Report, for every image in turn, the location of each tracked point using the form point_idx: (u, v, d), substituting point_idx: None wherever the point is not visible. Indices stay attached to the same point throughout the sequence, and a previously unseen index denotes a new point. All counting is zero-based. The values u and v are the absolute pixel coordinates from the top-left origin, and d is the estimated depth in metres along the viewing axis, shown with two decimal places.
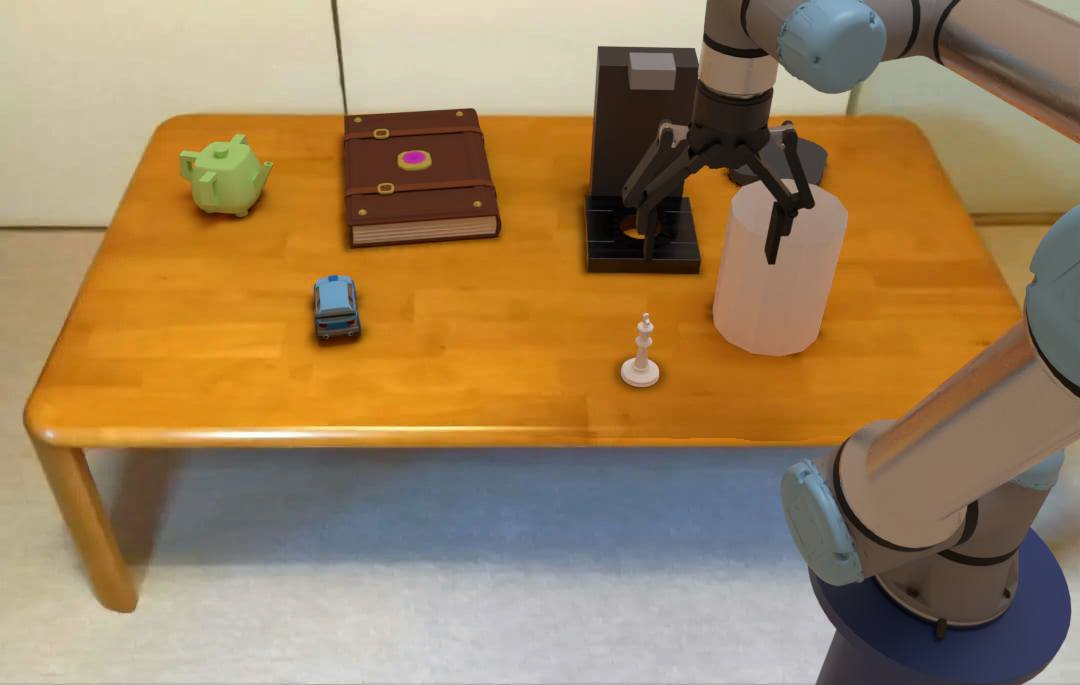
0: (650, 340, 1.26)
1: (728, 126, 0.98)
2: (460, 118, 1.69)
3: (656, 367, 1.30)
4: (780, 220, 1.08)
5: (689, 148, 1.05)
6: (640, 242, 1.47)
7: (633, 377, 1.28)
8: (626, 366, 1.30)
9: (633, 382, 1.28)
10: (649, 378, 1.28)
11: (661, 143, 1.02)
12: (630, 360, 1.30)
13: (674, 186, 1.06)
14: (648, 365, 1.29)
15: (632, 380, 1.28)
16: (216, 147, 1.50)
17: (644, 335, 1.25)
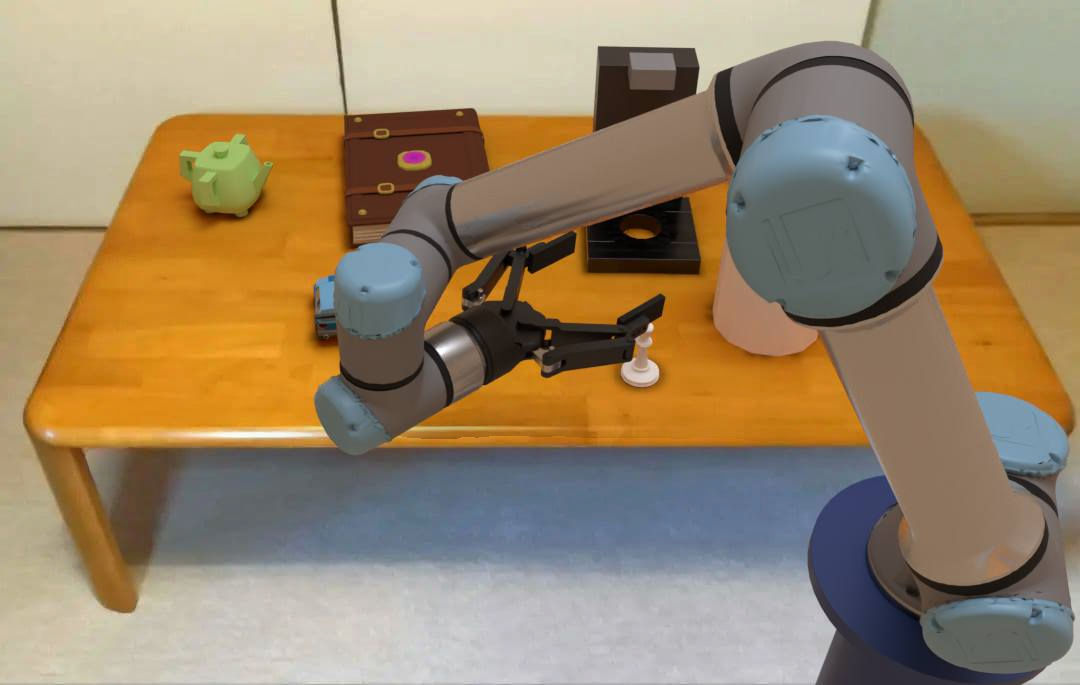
0: (650, 340, 1.26)
1: (494, 318, 0.99)
2: (460, 118, 1.69)
3: (656, 367, 1.30)
4: (535, 251, 1.11)
5: (548, 346, 1.03)
6: (640, 242, 1.47)
7: (633, 377, 1.28)
8: (626, 366, 1.30)
9: (633, 382, 1.28)
10: (649, 378, 1.28)
11: (558, 355, 0.99)
12: None
13: (583, 324, 1.03)
14: (648, 365, 1.29)
15: (632, 380, 1.28)
16: (216, 147, 1.50)
17: (644, 335, 1.25)
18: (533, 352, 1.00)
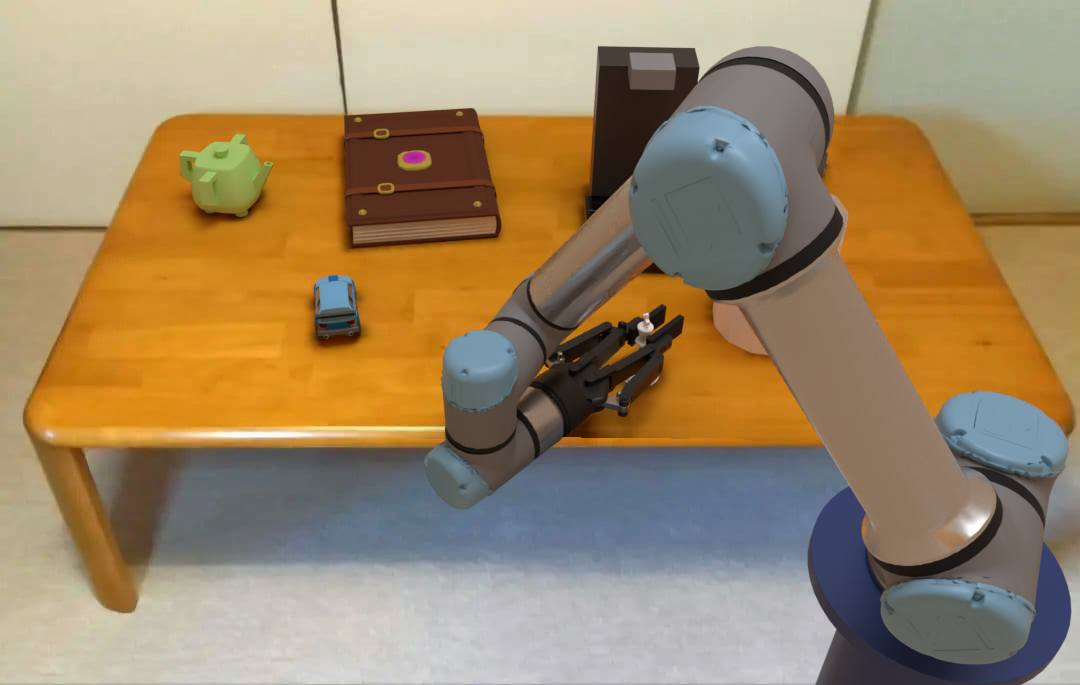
0: None
1: (566, 380, 1.15)
2: (460, 118, 1.69)
3: None
4: (634, 326, 1.26)
5: (608, 389, 1.21)
6: None
7: None
8: None
9: None
10: None
11: (629, 394, 1.17)
12: None
13: (625, 358, 1.21)
14: None
15: None
16: (216, 147, 1.50)
17: (644, 335, 1.25)
18: (607, 402, 1.17)
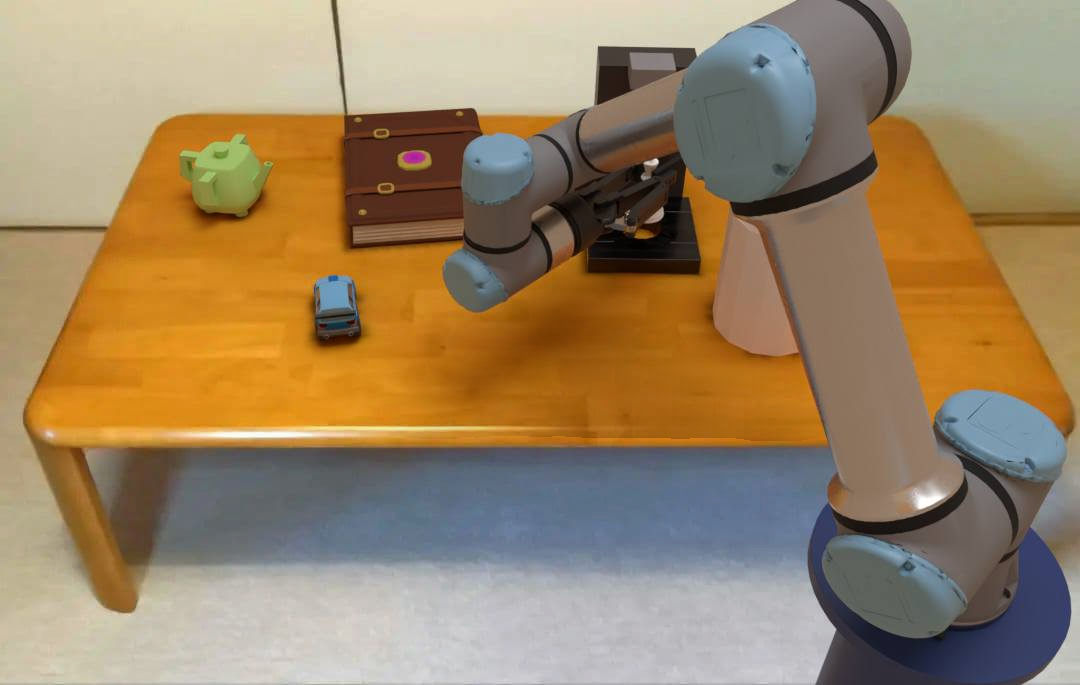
0: None
1: (577, 199, 1.21)
2: (460, 118, 1.69)
3: None
4: None
5: (616, 216, 1.27)
6: (640, 242, 1.47)
7: None
8: None
9: None
10: (654, 214, 1.34)
11: (637, 215, 1.23)
12: None
13: (632, 187, 1.27)
14: None
15: None
16: (216, 147, 1.50)
17: (649, 169, 1.30)
18: (615, 223, 1.23)
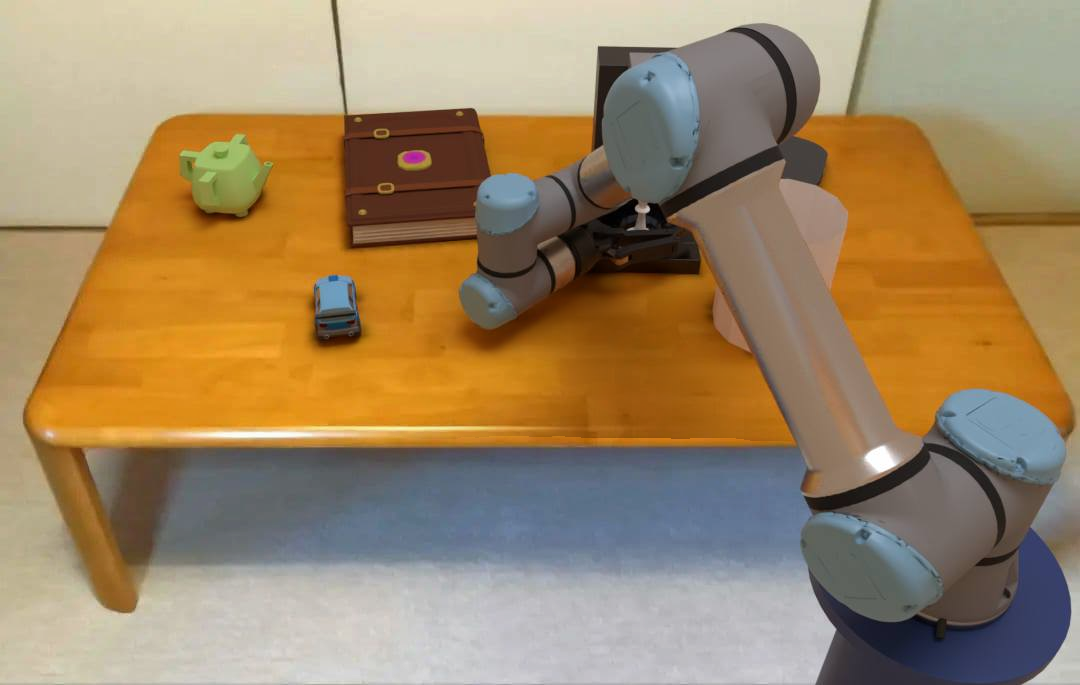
0: (648, 208, 1.48)
1: (577, 228, 1.36)
2: (460, 118, 1.69)
3: None
4: None
5: (616, 249, 1.41)
6: None
7: None
8: None
9: None
10: None
11: (626, 251, 1.37)
12: (631, 228, 1.52)
13: (640, 230, 1.40)
14: None
15: None
16: (216, 147, 1.50)
17: (643, 202, 1.46)
18: (607, 252, 1.38)
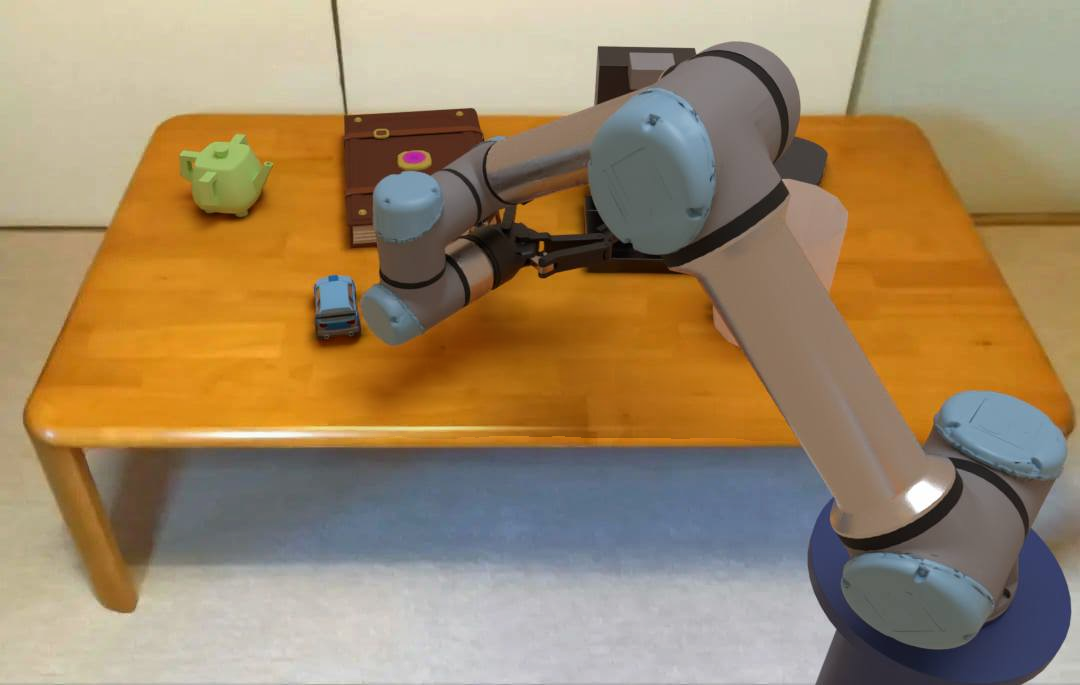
0: None
1: (496, 233, 1.23)
2: (460, 118, 1.69)
3: None
4: None
5: (542, 256, 1.28)
6: None
7: None
8: None
9: None
10: None
11: (551, 258, 1.23)
12: None
13: (568, 235, 1.27)
14: None
15: None
16: (216, 147, 1.50)
17: None
18: (530, 259, 1.25)
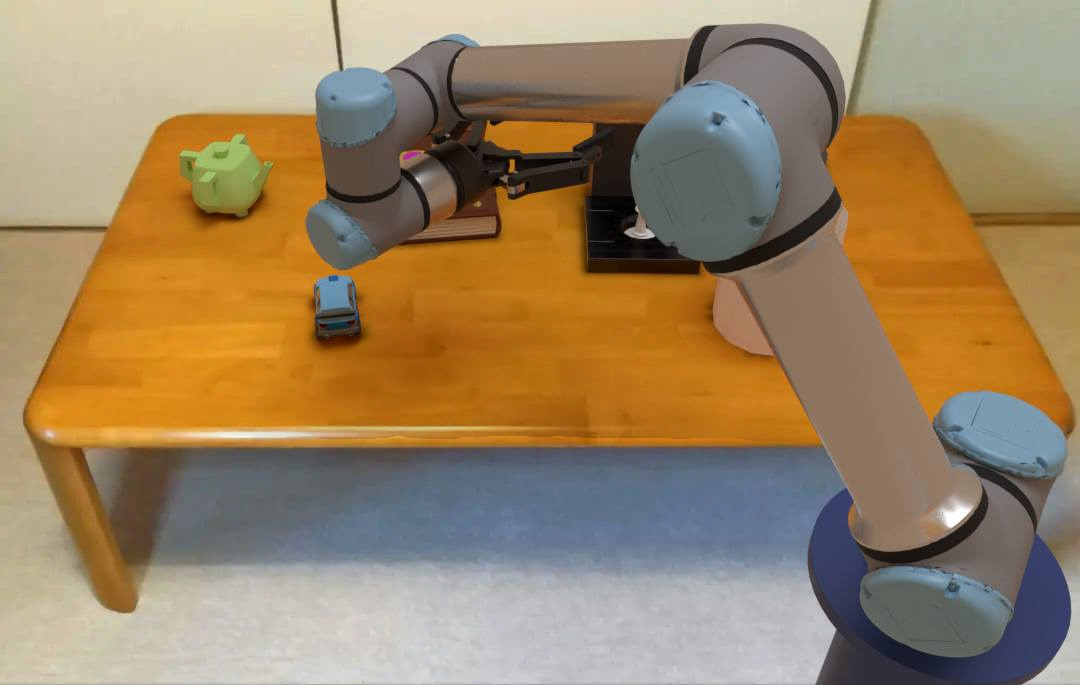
0: None
1: (461, 148, 1.10)
2: None
3: (653, 234, 1.51)
4: None
5: None
6: (640, 242, 1.47)
7: None
8: (627, 233, 1.51)
9: None
10: None
11: (522, 177, 1.10)
12: (631, 228, 1.52)
13: (542, 153, 1.14)
14: (646, 231, 1.50)
15: None
16: (216, 147, 1.50)
17: None
18: (499, 178, 1.11)
